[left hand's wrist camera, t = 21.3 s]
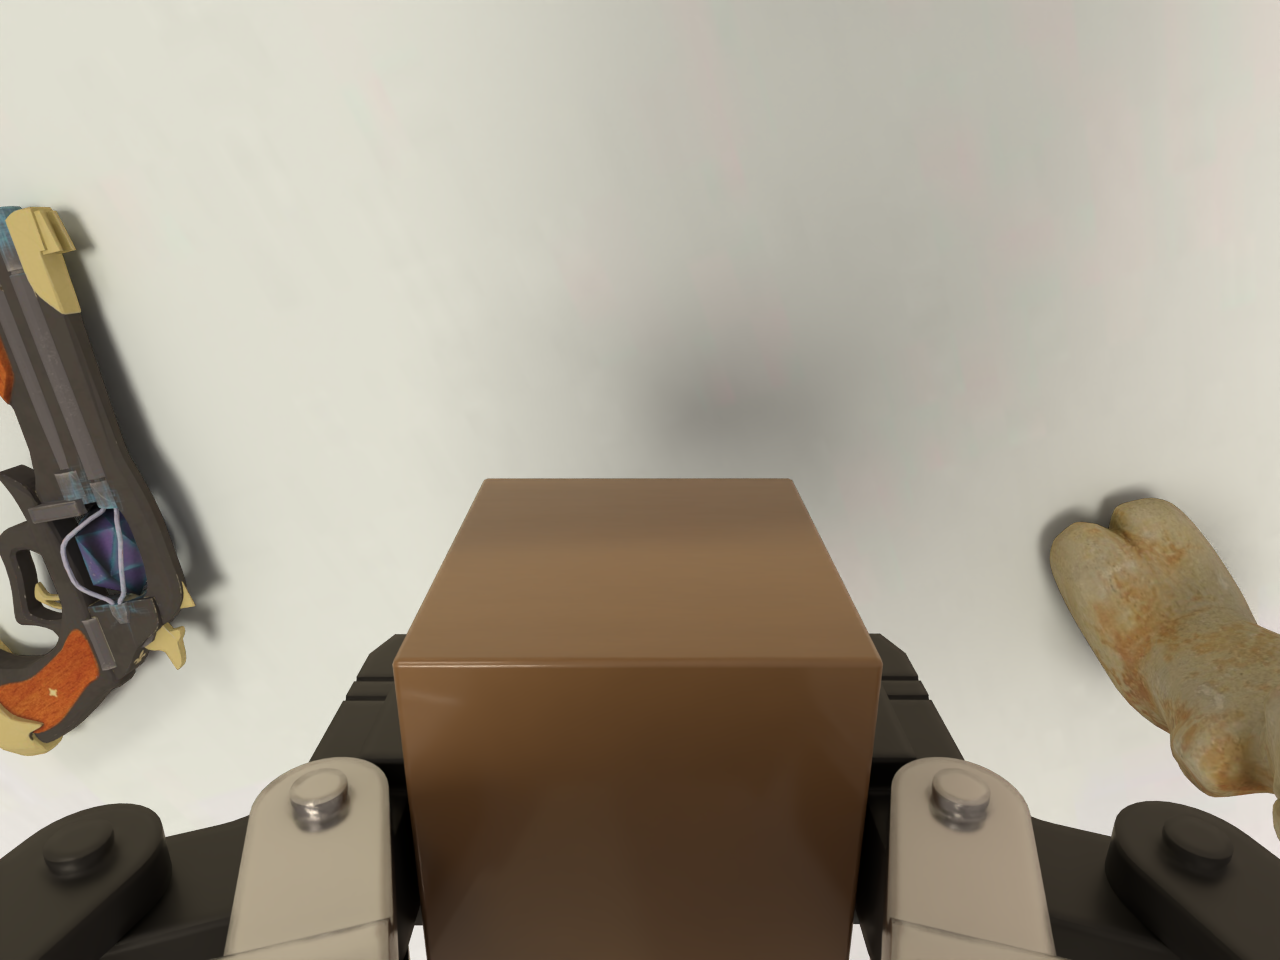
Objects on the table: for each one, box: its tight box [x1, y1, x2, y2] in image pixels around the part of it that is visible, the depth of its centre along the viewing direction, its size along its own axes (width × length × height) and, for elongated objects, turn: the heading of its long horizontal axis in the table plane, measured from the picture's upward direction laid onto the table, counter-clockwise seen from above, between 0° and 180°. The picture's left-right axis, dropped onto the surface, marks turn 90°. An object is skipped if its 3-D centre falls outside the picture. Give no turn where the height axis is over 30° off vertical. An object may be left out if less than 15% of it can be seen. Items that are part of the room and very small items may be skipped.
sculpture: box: [1050, 498, 1280, 840], centre depth 24 cm, size 6×7×15 cm
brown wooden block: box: [392, 478, 883, 960], centre depth 10 cm, size 5×4×5 cm
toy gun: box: [0, 206, 195, 756], centre depth 29 cm, size 3×19×10 cm
